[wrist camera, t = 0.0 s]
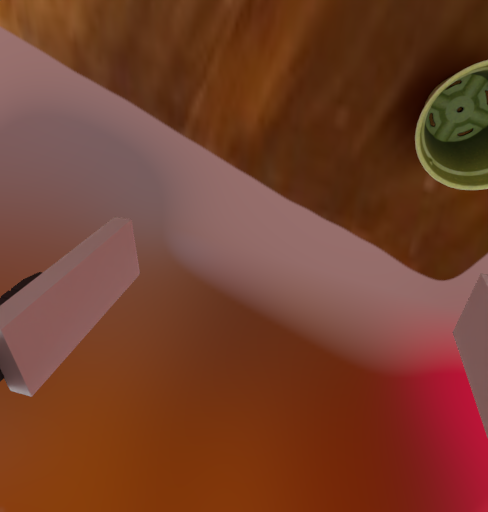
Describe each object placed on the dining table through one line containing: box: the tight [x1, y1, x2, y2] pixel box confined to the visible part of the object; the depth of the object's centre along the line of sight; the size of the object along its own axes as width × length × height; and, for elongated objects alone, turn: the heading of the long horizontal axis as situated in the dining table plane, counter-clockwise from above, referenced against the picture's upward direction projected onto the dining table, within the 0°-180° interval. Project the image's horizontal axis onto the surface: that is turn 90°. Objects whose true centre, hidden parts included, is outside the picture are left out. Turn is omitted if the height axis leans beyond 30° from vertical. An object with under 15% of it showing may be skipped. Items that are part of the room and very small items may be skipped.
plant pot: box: [415, 60, 488, 190], centre depth 30 cm, size 9×9×9 cm
